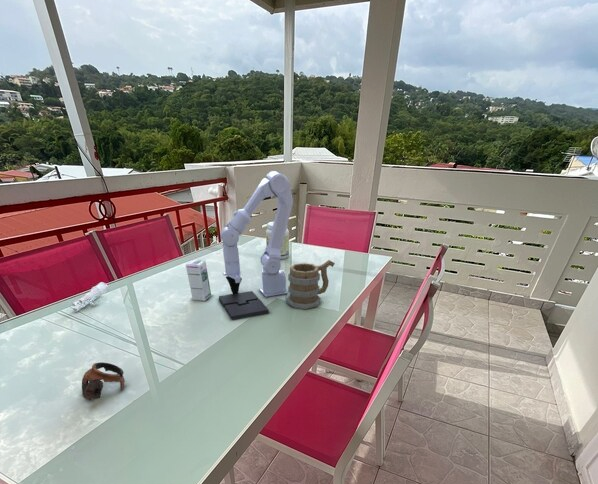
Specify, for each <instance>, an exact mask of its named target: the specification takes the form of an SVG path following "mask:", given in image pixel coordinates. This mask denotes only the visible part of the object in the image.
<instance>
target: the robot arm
mask: <svg viewBox="0 0 598 484" xmlns="http://www.w3.org/2000/svg"><path fill="white" fill-rule="evenodd" d="M273 196H274V198H275V200H276V201H277V202H278V204H277V207H276V208H277V209H276V212H275V217H274V220H273V222H274V224H273V228H272V232H271V235H270V239H269V243H268V246H267V245H266V247H265V249H264V252H263V253H262V254H261V256H260V264H261V265H262V269H261V282H262V288H260V289H259V292H261V293H262V295H264V297H265V298H269V297H275V296H280V295H285V294H288V293H287V278H286V277H287V276H286V273H285V271H284V270H283V269H281V259H280V258H281V253H280V250H281V246H282V242H283V239H284V235H285V231H286V228H287V229H288V227H287V226H288V223H289V220H290V216H291V213H292V209H293V205H294V198H293V194H292V188H291V183H290V181H289V179H288V178H287V176H286V175H284V174H283V173H279V172H278V171H276V170H271V171H269V172H268V173H267V174H266V176H265V177H264V178H263V179H262V180H261V181H260V182H259V184H258V185H257V187H256V189H255V190H254V191H253V193H252V195H251V196H250V198H249V199H248V201H247V202H246V204H245V206H244V207H243V208H241V209H240V208H239V209H237V210H236V211H233V213H232V215H233V216H232V217H231V219H230V220H229V222H226V223H225V227H223V228H222V229H221V231H220V238H221V240H222V254H223V261H224V270H225V271H224V272H222V275H223V277H225V279H226V281H227V282H228V285H229V288H230V291H231V294H236V293H240V292H239V291H240V286H241V285H240V284H242V280H243V279H242V276H241V275H242V271H241V263H240V251H239V247H238V243H239V239H240V237H239V236H241V235H242V234H243V232H244V231H245V229H246V228H247V227H248V226H249V224H250V223H251V221H252V219H251V216H252V215H253V213H254V212H255V210H256V209H257V208H258V207H259V205H260V204H261V203H262V202H263V200H265V199H266V198H270V197H273Z"/></svg>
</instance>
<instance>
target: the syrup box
mask: <svg viewBox="0 0 598 484" xmlns="http://www.w3.org/2000/svg"><path fill="white" fill-rule="evenodd" d="M185 269H186V275H187V279H188V285H189V288H190V289H189V290H190V293H191V298H192V300H193V301H203V302H205V301H207V300H208V299H209V298H210V297H211V296H212V291H211V285H210V279H209V274H208V267H207V262H206V260H202V259H192V260H191V261H190V262H188V263H186V264H185Z"/></svg>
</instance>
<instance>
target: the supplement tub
mask: <svg viewBox="0 0 598 484" xmlns="http://www.w3.org/2000/svg"><path fill="white" fill-rule="evenodd" d="M273 224H274V221H270V222H269V221H268V223H267V225H266V228H267V229H266V230H265V239H266V240H265V242H266V243H265V245H266V247H267V246H268V243H269V239H270V235H271V232H272V228H273ZM280 253H281V258H280V260H284V259H287V258H289V256H290V230H289V229H288V225H287V228H286V231H285V235H284V239H283V242H282V246H281V250H280Z"/></svg>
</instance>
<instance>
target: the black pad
mask: <svg viewBox="0 0 598 484" xmlns="http://www.w3.org/2000/svg"><path fill="white" fill-rule="evenodd" d="M218 300H219V302H220V304H221V305H222V307H223V308H225V305H230V304H236V303H237V305H238V306H241V305H247V304H248V301H253V300H259V297H258V296H257V294H255V293H254V291H253V290H249V291H242V292H238V293H236V294H232V293H229V294H224V295H219V296H218Z"/></svg>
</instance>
